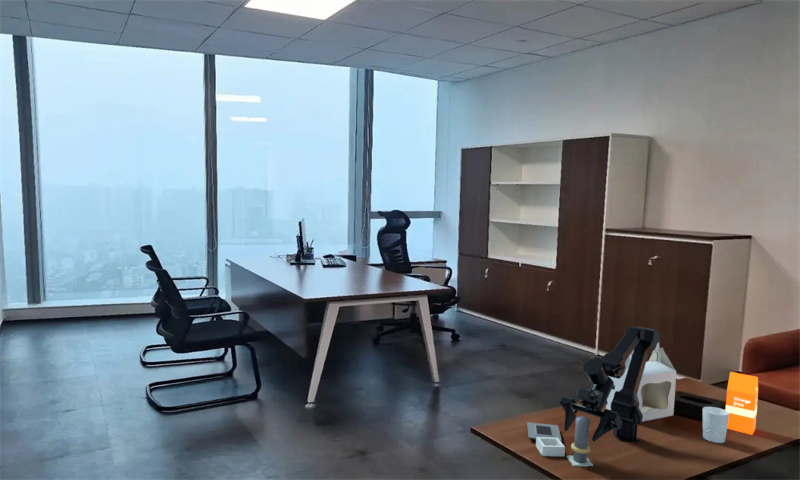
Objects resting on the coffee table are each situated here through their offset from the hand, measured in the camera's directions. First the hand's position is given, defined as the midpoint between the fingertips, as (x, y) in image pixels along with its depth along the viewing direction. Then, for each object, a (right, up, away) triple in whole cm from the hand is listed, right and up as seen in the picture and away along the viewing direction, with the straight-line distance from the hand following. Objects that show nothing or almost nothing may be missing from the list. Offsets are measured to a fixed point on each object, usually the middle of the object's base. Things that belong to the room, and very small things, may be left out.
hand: (578, 435), depth 166 cm
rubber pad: (+1, -9, +1) cm, 9 cm away
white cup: (+54, -10, +23) cm, 59 cm away
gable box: (+38, -8, +45) cm, 59 cm away
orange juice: (+70, -9, +33) cm, 78 cm away
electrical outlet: (-5, -8, +20) cm, 22 cm away
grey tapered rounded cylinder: (+1, -8, +1) cm, 8 cm away
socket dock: (-6, -8, +8) cm, 13 cm away
